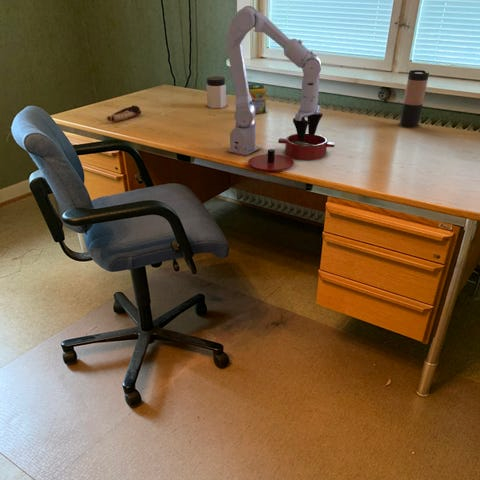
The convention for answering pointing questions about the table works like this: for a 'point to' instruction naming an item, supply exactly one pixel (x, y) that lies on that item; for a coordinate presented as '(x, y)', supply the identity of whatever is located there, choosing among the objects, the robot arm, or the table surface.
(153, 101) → the table surface
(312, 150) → the pot
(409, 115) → the travel mug
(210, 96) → the jar
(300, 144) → the cucumber
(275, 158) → the lid
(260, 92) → the crayon box
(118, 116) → the lashed bone hook
